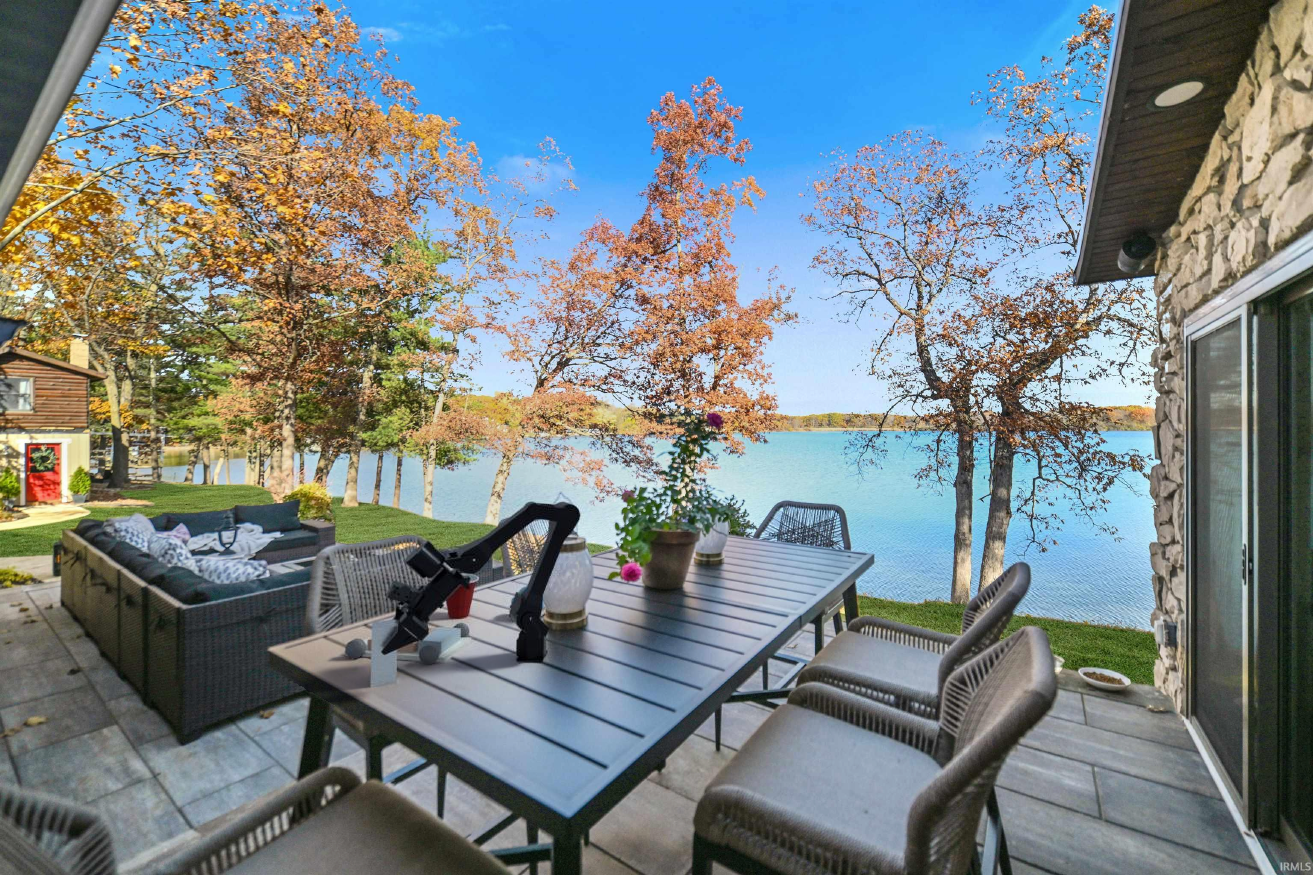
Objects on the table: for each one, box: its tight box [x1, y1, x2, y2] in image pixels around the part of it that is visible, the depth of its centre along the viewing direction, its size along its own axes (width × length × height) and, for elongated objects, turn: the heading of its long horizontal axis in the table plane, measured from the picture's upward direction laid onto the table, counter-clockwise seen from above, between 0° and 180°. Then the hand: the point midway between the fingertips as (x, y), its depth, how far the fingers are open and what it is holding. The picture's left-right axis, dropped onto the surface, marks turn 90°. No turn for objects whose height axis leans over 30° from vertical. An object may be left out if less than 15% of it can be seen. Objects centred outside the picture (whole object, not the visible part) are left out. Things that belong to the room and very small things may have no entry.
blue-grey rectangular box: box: [370, 619, 398, 688], centre depth 124 cm, size 5×5×12 cm
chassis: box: [344, 622, 472, 665], centre depth 143 cm, size 26×17×4 cm, turn 83°
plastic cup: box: [445, 572, 480, 620], centre depth 170 cm, size 11×11×12 cm
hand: (382, 646), depth 124 cm, fingers open, 9 cm apart
